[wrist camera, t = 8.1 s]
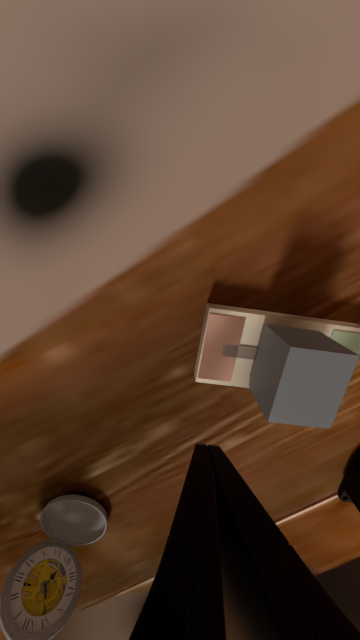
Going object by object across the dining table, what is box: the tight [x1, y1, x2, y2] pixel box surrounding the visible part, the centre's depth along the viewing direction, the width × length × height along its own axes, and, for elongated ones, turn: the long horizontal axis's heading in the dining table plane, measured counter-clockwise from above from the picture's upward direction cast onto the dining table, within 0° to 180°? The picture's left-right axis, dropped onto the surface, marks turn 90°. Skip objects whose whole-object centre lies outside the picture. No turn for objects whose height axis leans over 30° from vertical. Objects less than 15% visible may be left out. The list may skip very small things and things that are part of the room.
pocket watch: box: [0, 494, 108, 640], centre depth 20 cm, size 8×8×10 cm
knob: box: [249, 324, 360, 429], centre depth 16 cm, size 4×5×4 cm
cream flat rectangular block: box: [194, 303, 360, 388], centre depth 19 cm, size 12×6×2 cm, turn 82°
